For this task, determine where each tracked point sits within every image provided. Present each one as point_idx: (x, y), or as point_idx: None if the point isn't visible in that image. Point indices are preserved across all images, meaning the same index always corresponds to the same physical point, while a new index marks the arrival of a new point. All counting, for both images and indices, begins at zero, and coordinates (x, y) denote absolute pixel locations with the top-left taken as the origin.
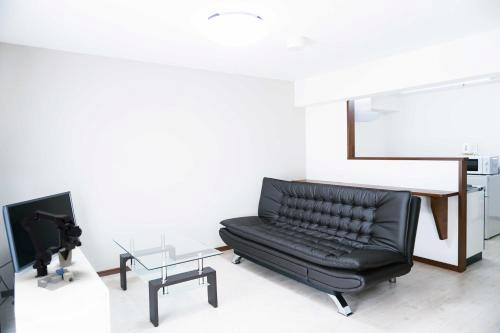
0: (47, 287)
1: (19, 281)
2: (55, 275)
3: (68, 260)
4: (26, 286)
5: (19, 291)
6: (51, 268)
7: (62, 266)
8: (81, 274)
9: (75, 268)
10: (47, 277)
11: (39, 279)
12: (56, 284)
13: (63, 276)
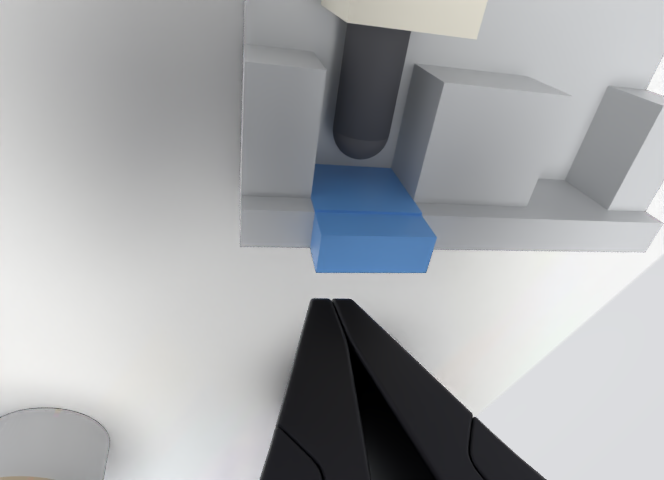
0: (636, 52)
1: (477, 414)
2: (450, 194)
3: (6, 477)
4: (557, 302)
5: (654, 261)
6: (186, 462)
7: (99, 434)
8: (53, 24)
9: (5, 305)
10: (553, 212)
11: (656, 222)
12: (545, 15)
13: (392, 89)
